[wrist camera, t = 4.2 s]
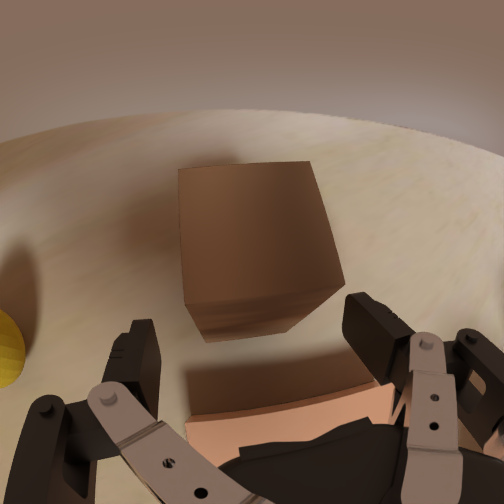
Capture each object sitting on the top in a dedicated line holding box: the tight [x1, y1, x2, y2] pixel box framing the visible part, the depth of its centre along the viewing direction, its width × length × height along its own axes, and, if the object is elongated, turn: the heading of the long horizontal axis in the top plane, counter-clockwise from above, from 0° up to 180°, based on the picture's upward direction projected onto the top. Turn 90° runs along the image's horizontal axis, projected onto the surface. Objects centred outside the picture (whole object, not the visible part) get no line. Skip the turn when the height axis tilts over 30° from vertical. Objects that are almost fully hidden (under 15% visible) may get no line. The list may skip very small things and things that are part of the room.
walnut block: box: [178, 161, 345, 343], centre depth 14 cm, size 5×5×10 cm
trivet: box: [185, 381, 395, 467], centre depth 13 cm, size 12×12×3 cm
